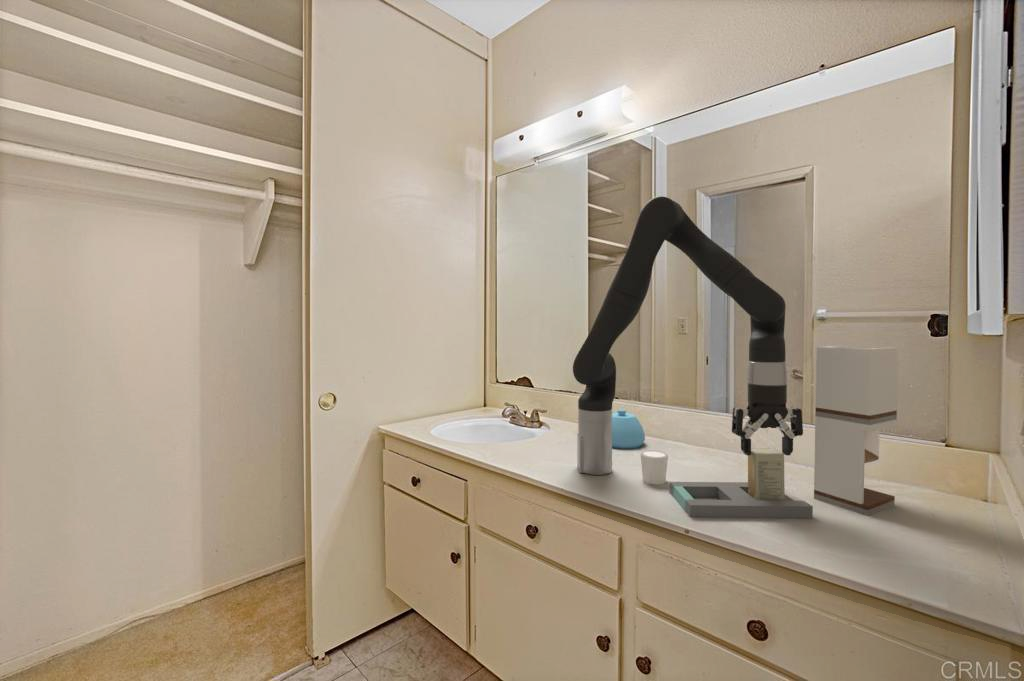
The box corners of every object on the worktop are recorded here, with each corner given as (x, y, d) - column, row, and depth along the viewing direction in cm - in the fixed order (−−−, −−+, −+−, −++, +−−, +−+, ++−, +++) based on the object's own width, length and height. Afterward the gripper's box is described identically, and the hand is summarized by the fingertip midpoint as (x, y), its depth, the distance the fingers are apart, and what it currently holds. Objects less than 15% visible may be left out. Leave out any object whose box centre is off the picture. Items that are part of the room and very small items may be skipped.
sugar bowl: (591, 444, 151) (591, 410, 151) (612, 435, 163) (612, 404, 162) (632, 452, 142) (632, 416, 141) (652, 442, 153) (652, 409, 153)
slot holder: (690, 517, 94) (690, 505, 94) (669, 492, 108) (669, 481, 108) (812, 518, 93) (812, 506, 93) (775, 492, 107) (775, 482, 107)
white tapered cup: (669, 478, 118) (669, 451, 118) (666, 486, 112) (666, 459, 111) (642, 474, 121) (642, 448, 121) (638, 482, 115) (638, 455, 114)
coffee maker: (867, 515, 94) (871, 349, 93) (813, 498, 104) (816, 347, 102) (894, 505, 100) (898, 347, 98) (841, 489, 109) (844, 345, 108)
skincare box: (775, 501, 102) (776, 448, 102) (785, 509, 98) (786, 453, 97) (746, 500, 103) (746, 447, 102) (754, 508, 99) (755, 452, 98)
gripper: (741, 384, 96) (741, 459, 96) (810, 383, 95) (810, 459, 96) (726, 380, 103) (726, 450, 104) (790, 379, 103) (790, 449, 103)
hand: (766, 454), depth 100 cm, fingers open, 8 cm apart
